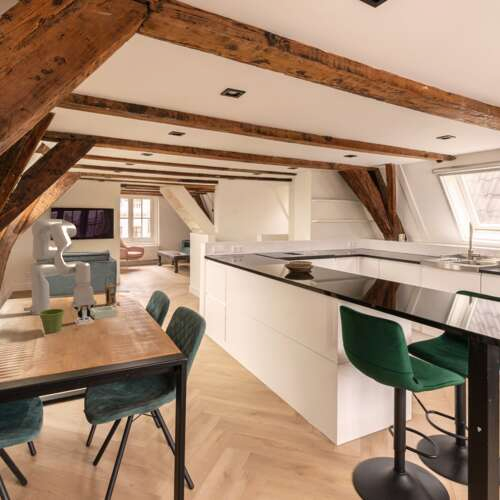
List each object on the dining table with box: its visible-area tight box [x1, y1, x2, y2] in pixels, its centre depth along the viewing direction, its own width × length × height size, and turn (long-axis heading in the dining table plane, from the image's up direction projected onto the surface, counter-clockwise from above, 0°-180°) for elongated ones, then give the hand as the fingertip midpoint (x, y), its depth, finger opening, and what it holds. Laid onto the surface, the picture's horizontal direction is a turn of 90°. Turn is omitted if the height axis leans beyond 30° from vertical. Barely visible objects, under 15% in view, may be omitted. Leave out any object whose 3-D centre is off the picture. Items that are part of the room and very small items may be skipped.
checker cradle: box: [73, 316, 95, 326], centre depth 203 cm, size 9×9×2 cm
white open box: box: [89, 305, 117, 320], centre depth 216 cm, size 12×12×5 cm
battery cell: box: [80, 305, 88, 320], centre depth 203 cm, size 4×4×10 cm
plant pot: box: [38, 308, 66, 336], centre depth 185 cm, size 12×12×11 cm
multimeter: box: [104, 274, 121, 308], centre depth 247 cm, size 15×10×20 cm
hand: (84, 316), depth 203 cm, fingers closed on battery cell, 3 cm apart
